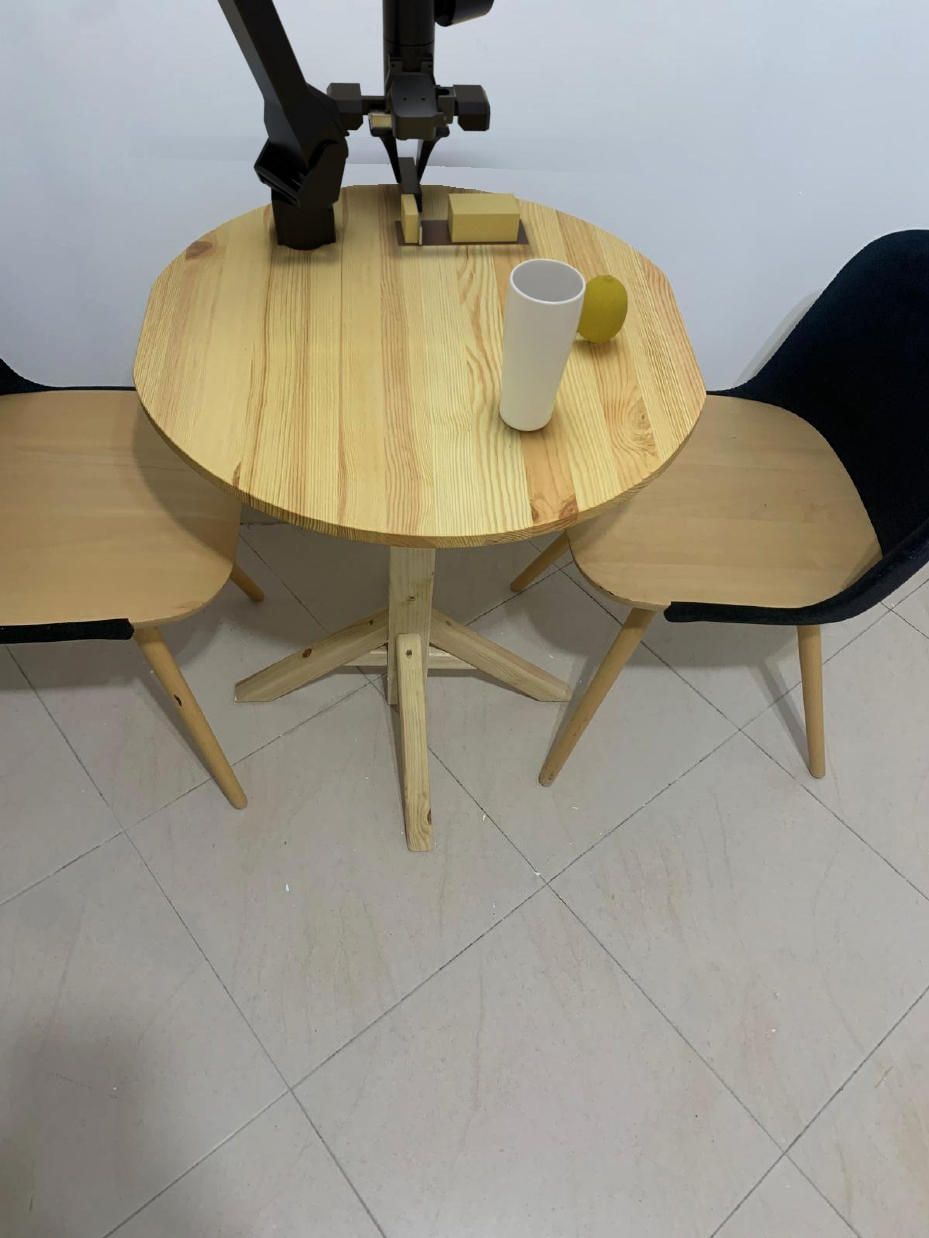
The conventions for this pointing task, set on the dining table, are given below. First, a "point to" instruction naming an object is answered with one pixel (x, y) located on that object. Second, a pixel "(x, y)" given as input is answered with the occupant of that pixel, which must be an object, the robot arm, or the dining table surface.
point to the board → (440, 235)
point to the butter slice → (409, 218)
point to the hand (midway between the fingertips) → (407, 182)
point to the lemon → (603, 309)
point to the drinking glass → (537, 338)
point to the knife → (411, 186)
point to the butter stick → (483, 217)
